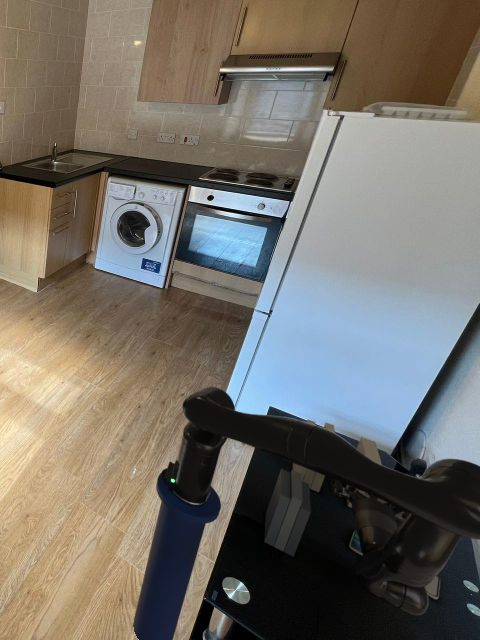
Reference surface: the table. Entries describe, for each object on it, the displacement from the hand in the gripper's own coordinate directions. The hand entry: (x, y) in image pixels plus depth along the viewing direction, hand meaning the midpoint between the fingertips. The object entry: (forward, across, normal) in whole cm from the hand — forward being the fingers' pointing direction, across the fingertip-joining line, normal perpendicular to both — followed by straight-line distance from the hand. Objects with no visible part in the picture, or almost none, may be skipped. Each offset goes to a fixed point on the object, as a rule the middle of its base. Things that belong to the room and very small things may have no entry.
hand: (365, 480), depth 108 cm
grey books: (-22, +16, +10) cm, 29 cm away
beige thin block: (+6, 0, +10) cm, 11 cm away
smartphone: (-14, -6, +10) cm, 18 cm away
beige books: (+6, +10, +10) cm, 16 cm away
